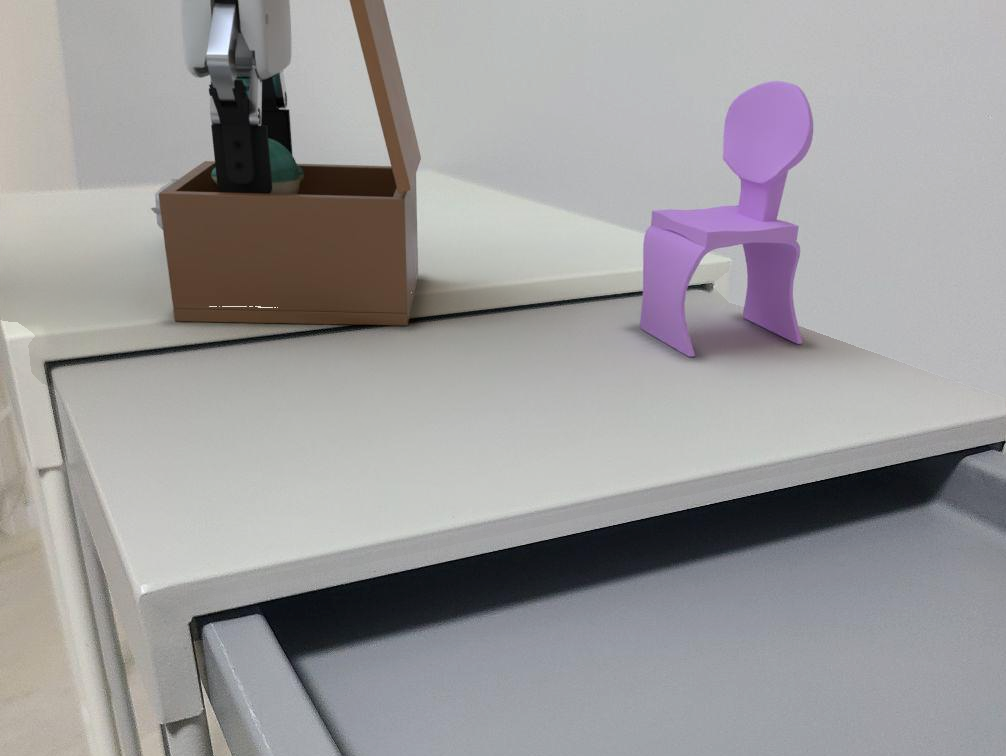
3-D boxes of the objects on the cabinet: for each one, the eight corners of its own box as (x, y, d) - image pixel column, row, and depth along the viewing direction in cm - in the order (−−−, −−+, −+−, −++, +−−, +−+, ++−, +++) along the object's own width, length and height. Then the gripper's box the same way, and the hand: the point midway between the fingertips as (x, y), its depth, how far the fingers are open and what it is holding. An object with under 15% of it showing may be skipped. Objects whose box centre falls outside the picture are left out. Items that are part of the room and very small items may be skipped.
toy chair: (625, 324, 70) (643, 75, 63) (738, 312, 73) (767, 75, 66) (691, 363, 63) (720, 90, 56) (812, 348, 67) (853, 89, 60)
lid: (324, -100, 57) (426, -124, 57) (349, -89, 68) (435, -109, 67) (398, 193, 64) (489, 173, 64) (410, 161, 75) (488, 144, 75)
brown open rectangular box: (174, 321, 67) (157, 193, 64) (216, 273, 78) (204, 160, 74) (407, 325, 68) (404, 199, 64) (418, 277, 79) (415, 166, 75)
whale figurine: (218, 208, 66) (211, 143, 64) (209, 186, 72) (202, 126, 70) (313, 205, 67) (309, 141, 66) (297, 184, 74) (293, 125, 72)
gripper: (199, -130, 68) (227, 159, 77) (117, -158, 53) (163, 207, 61) (317, -125, 69) (333, 162, 77) (269, -152, 54) (295, 211, 62)
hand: (258, 180), depth 69 cm, fingers closed on whale figurine, 7 cm apart
